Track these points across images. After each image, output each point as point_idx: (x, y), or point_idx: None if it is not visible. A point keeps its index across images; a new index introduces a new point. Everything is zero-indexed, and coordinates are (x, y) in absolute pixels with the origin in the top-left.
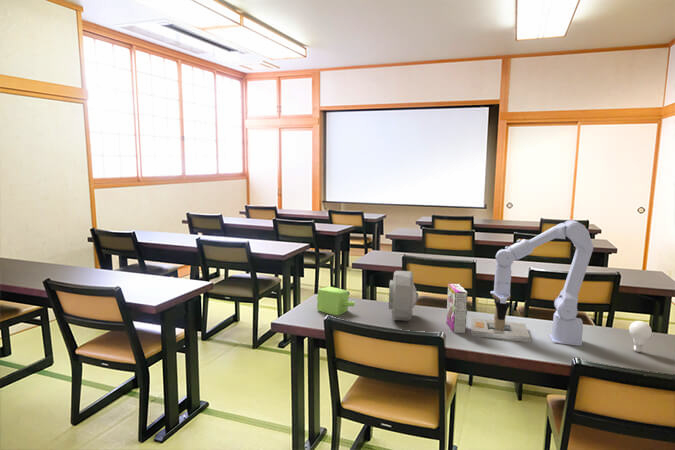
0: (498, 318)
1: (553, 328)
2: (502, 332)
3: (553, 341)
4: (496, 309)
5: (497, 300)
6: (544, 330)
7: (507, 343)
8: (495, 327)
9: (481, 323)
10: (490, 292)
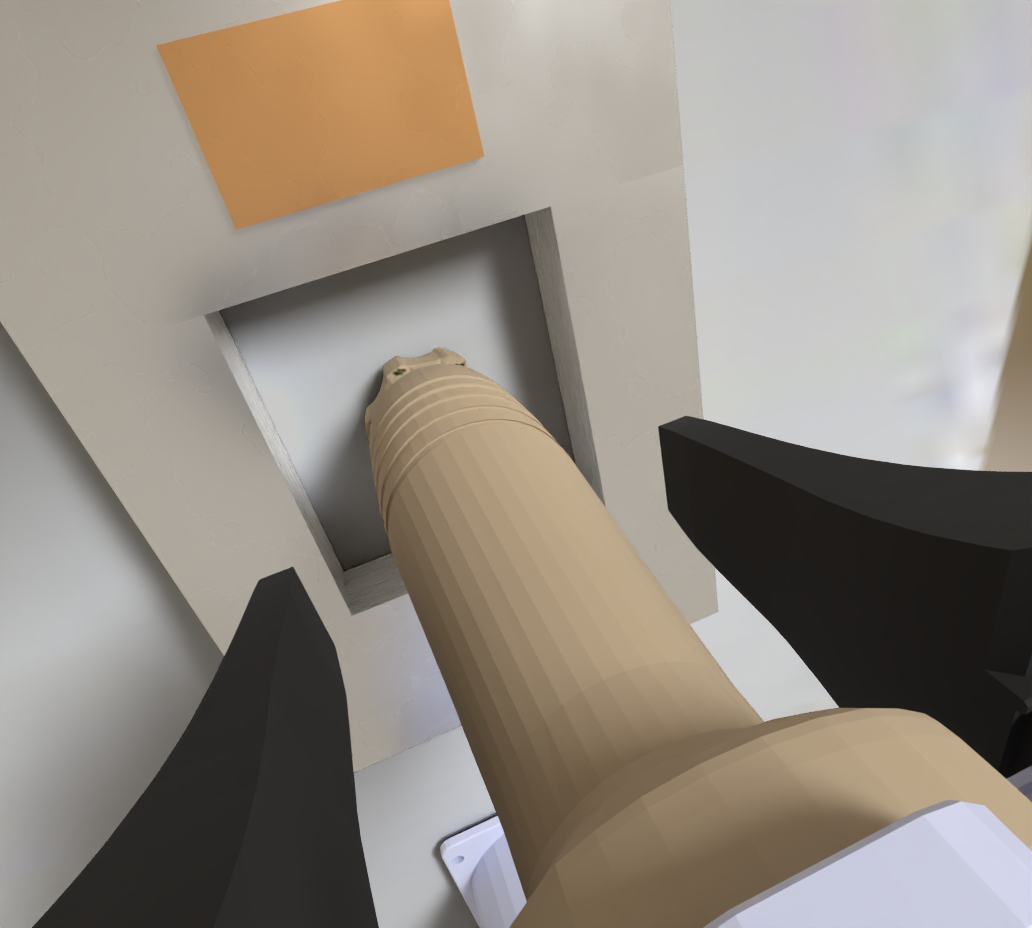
0: (254, 598)
1: None
2: (233, 539)
3: (443, 854)
4: (464, 584)
5: (558, 823)
6: None
7: (68, 607)
8: (381, 398)
9: (418, 132)
10: (912, 884)
